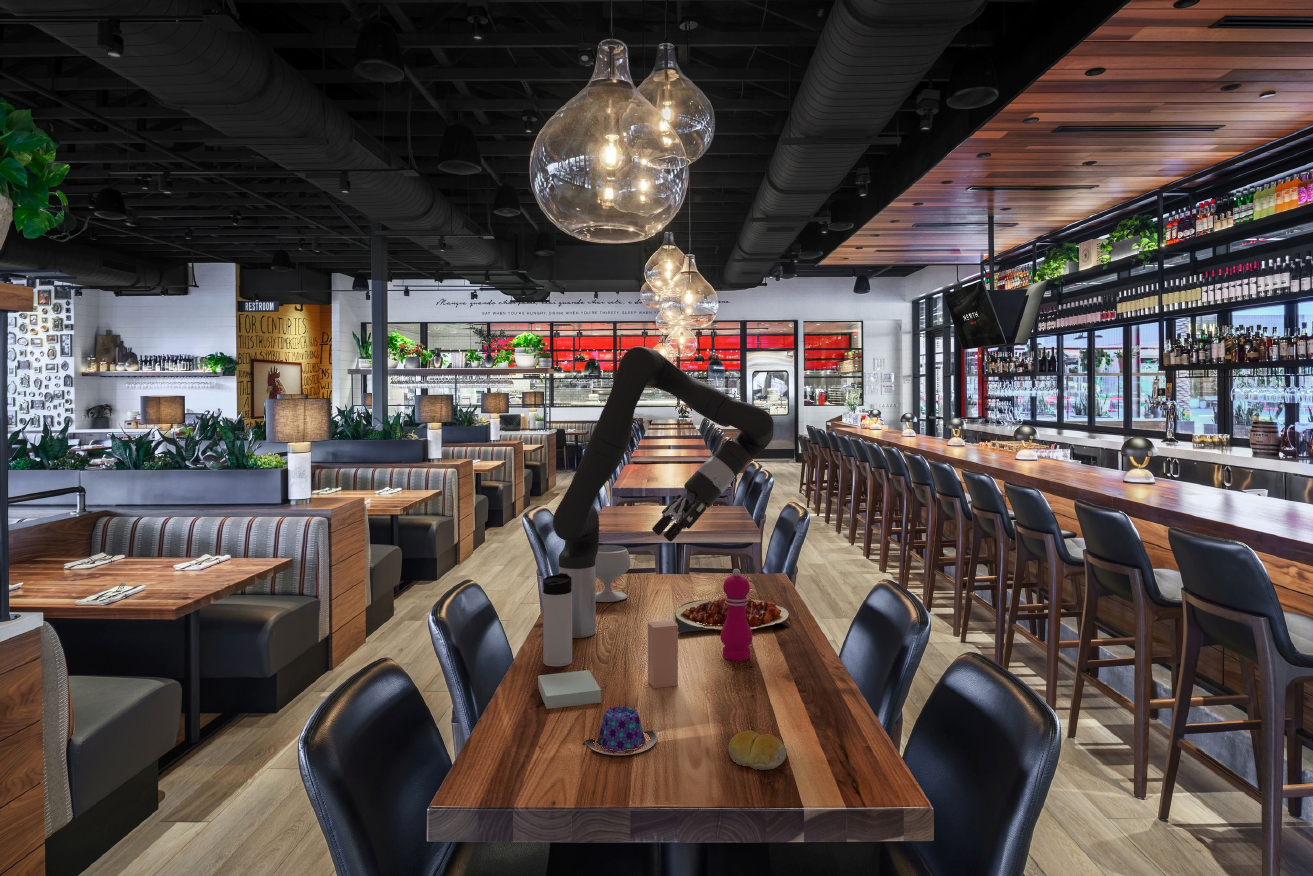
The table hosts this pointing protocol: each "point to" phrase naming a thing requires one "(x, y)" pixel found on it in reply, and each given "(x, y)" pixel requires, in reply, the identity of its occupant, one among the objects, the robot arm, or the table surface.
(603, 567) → the chalice
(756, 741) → the bread roll
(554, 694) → the ticket board
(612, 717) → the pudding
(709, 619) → the plate of glazed chicken
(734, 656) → the pepper mill
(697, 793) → the table surface
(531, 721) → the table surface
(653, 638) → the stub
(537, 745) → the table surface
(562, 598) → the travel mug
